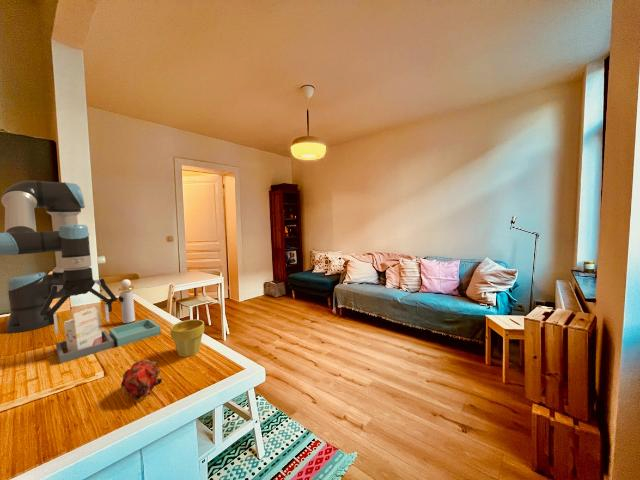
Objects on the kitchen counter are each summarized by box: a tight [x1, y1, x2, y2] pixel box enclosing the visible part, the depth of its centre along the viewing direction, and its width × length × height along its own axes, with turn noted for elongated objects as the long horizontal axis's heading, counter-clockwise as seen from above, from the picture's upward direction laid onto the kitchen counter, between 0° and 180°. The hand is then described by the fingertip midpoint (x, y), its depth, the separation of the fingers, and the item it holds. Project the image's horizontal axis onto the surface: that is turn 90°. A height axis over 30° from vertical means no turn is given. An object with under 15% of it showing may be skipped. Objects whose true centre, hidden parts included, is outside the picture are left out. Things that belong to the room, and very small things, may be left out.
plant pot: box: [170, 318, 205, 358], centre depth 90 cm, size 10×10×10 cm
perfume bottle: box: [117, 278, 136, 324], centre depth 118 cm, size 6×6×20 cm
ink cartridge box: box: [63, 306, 103, 353], centre depth 94 cm, size 9×5×15 cm, turn 168°
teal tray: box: [108, 318, 162, 348], centre depth 105 cm, size 14×14×3 cm
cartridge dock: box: [55, 330, 115, 364], centre depth 94 cm, size 14×14×2 cm
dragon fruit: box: [120, 358, 164, 400], centre depth 69 cm, size 8×8×12 cm
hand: (83, 326), depth 94 cm, fingers open, 13 cm apart
